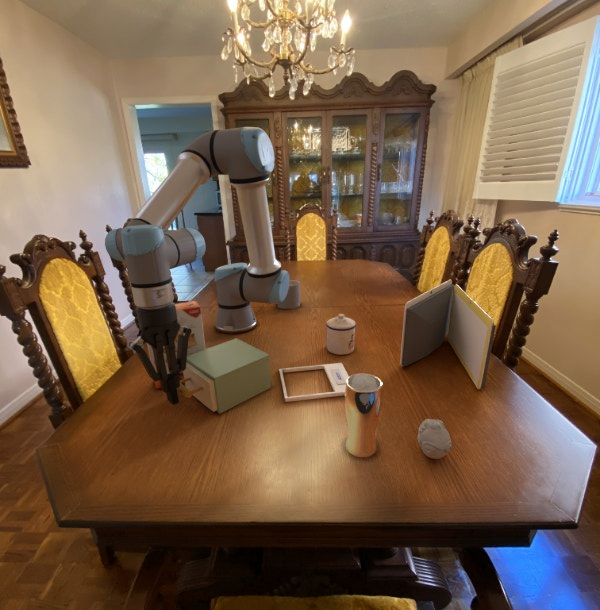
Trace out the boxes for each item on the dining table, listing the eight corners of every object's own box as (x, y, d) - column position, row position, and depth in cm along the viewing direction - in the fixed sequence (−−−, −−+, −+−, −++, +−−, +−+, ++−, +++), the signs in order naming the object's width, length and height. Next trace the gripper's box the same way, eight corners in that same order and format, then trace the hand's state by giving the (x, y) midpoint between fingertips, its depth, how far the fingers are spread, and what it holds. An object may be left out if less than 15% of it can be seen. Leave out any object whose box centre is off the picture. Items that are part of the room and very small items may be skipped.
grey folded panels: (495, 391, 86) (510, 318, 79) (405, 388, 88) (412, 317, 81) (452, 334, 118) (461, 278, 111) (387, 333, 120) (392, 278, 113)
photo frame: (357, 390, 86) (285, 397, 83) (356, 393, 86) (285, 401, 84) (341, 362, 99) (279, 368, 97) (341, 365, 100) (279, 371, 97)
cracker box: (156, 390, 90) (141, 315, 82) (154, 380, 95) (139, 308, 87) (210, 376, 96) (200, 305, 88) (205, 367, 101) (195, 299, 93)
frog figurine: (440, 440, 70) (444, 412, 68) (455, 467, 64) (461, 436, 61) (410, 442, 70) (413, 413, 68) (423, 468, 64) (427, 438, 61)
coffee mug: (299, 300, 156) (298, 279, 152) (301, 308, 147) (300, 285, 143) (269, 302, 155) (268, 280, 151) (269, 310, 145) (268, 287, 142)
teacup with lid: (354, 356, 105) (356, 320, 101) (324, 354, 106) (325, 319, 102) (355, 339, 116) (356, 307, 112) (328, 338, 118) (328, 306, 113)
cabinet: (219, 414, 80) (214, 378, 77) (189, 389, 90) (184, 357, 87) (271, 387, 90) (269, 354, 87) (239, 368, 100) (236, 338, 97)
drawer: (196, 420, 77) (191, 390, 74) (169, 396, 86) (164, 368, 83) (262, 387, 89) (260, 360, 86) (233, 369, 98) (230, 344, 95)
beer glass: (340, 436, 72) (341, 373, 67) (372, 433, 73) (377, 371, 67) (347, 460, 66) (349, 393, 60) (383, 457, 66) (388, 391, 61)
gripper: (128, 316, 64) (151, 421, 72) (193, 300, 72) (207, 396, 81) (115, 307, 69) (138, 406, 78) (177, 293, 77) (191, 384, 86)
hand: (173, 401), depth 79 cm, fingers closed
